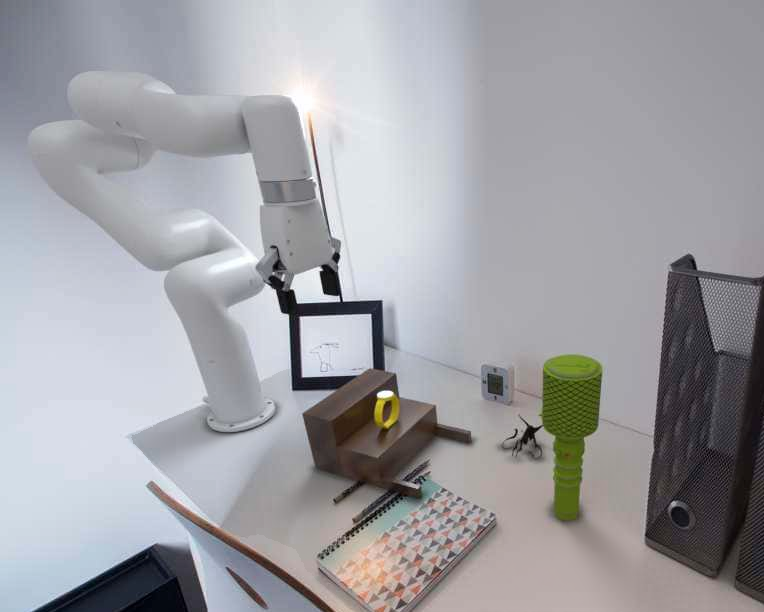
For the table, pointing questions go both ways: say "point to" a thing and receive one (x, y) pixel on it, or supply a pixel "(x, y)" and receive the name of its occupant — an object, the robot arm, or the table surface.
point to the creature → (526, 437)
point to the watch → (382, 398)
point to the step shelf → (372, 432)
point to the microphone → (570, 422)
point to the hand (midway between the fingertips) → (312, 304)
